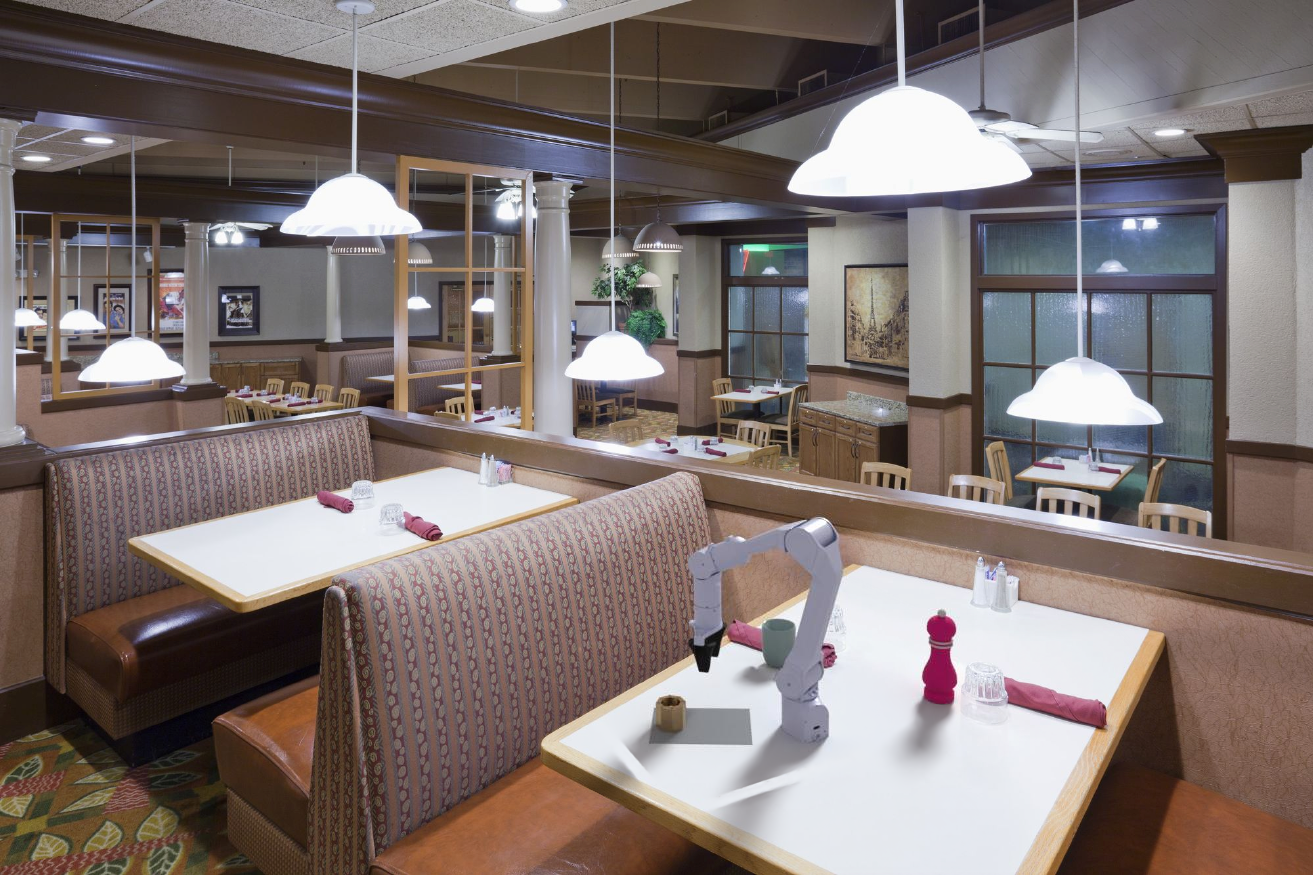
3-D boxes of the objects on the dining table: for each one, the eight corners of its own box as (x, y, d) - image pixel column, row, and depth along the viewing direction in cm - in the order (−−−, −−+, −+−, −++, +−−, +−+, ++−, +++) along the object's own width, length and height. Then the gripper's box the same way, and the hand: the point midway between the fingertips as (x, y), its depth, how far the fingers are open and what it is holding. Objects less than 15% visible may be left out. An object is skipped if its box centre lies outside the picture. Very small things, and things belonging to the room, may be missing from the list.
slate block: (749, 715, 176) (749, 708, 175) (752, 751, 162) (752, 744, 162) (654, 714, 177) (654, 707, 177) (649, 750, 163) (649, 743, 163)
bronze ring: (690, 727, 168) (689, 704, 167) (665, 734, 166) (664, 711, 165) (677, 715, 173) (676, 692, 172) (652, 722, 171) (651, 699, 170)
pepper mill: (959, 706, 177) (962, 616, 173) (923, 704, 178) (926, 615, 175) (954, 690, 184) (957, 603, 180) (919, 688, 185) (922, 602, 182)
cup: (785, 674, 193) (785, 634, 192) (756, 666, 198) (755, 626, 196) (801, 662, 199) (801, 622, 198) (772, 654, 204) (772, 615, 202)
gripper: (698, 589, 184) (700, 647, 187) (679, 614, 171) (680, 676, 173) (730, 592, 182) (730, 651, 185) (712, 617, 169) (713, 680, 171)
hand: (708, 663), depth 179 cm, fingers open, 7 cm apart
